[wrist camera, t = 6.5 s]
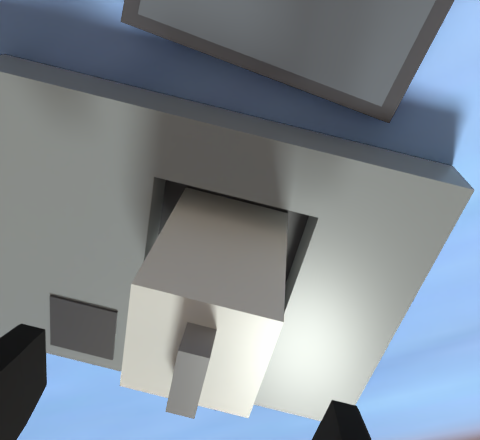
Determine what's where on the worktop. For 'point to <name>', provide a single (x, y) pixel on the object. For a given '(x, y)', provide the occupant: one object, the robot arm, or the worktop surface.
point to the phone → (308, 42)
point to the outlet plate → (218, 183)
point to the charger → (207, 305)
